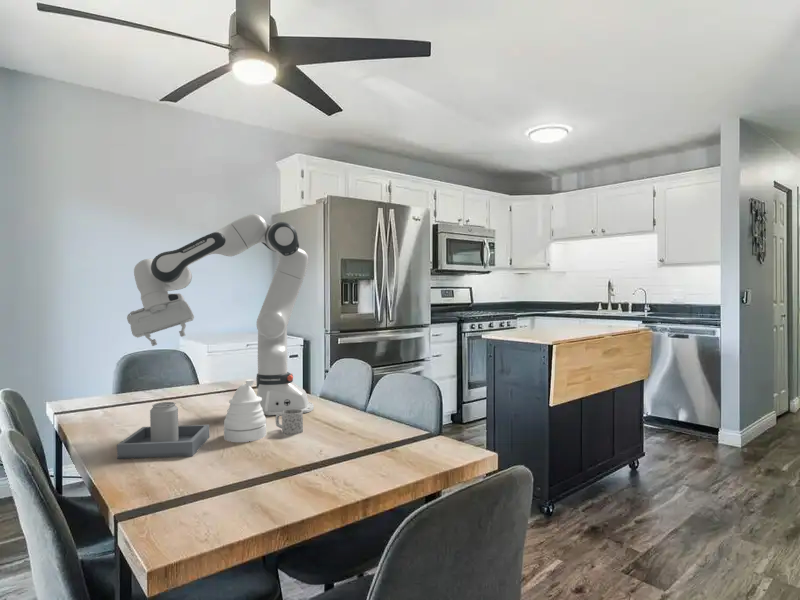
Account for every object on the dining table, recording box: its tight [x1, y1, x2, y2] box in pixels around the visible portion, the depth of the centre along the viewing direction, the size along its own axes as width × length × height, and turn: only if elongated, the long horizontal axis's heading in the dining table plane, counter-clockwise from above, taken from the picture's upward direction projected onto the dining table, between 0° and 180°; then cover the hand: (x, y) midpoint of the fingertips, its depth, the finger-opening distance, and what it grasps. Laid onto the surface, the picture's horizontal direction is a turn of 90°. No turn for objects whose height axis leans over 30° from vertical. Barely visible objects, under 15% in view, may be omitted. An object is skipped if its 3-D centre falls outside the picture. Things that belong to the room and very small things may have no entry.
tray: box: [116, 424, 211, 460], centre depth 151 cm, size 20×18×4 cm
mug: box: [275, 409, 304, 436], centre depth 167 cm, size 10×7×7 cm
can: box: [149, 401, 179, 442], centre depth 151 cm, size 8×8×12 cm
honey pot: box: [223, 379, 267, 443], centre depth 162 cm, size 13×13×18 cm
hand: (168, 340), depth 176 cm, fingers open, 8 cm apart
